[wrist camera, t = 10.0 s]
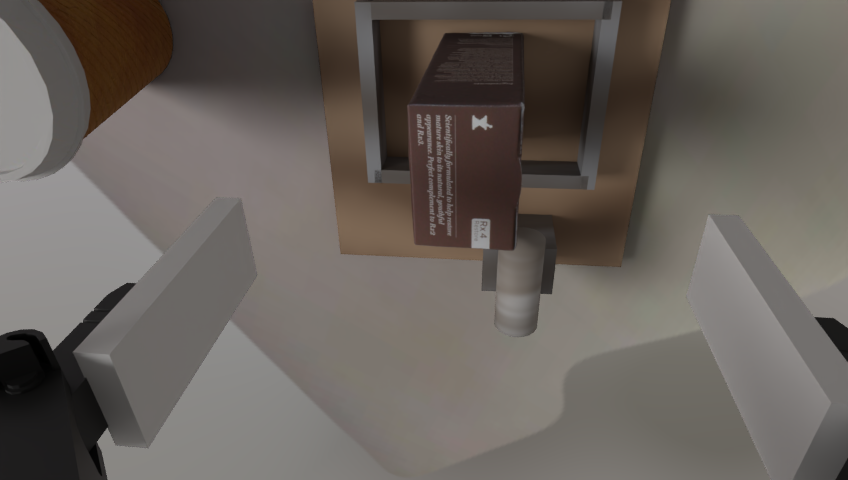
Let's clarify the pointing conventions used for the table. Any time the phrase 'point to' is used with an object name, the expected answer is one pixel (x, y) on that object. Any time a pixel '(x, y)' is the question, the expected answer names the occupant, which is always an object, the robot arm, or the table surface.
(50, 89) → the disposable coffee cup
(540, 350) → the table surface
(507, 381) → the table surface
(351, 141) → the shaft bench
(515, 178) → the box
